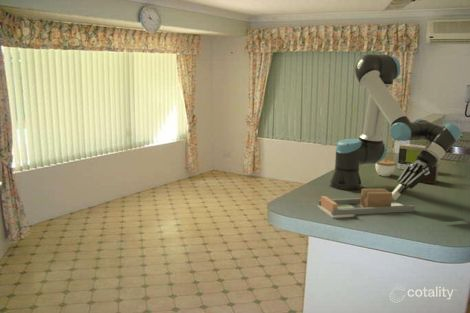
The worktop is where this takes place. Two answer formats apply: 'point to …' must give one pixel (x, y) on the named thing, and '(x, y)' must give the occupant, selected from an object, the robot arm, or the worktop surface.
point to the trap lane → (357, 207)
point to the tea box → (408, 154)
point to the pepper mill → (432, 175)
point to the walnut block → (375, 198)
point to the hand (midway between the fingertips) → (392, 197)
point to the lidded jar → (385, 167)
